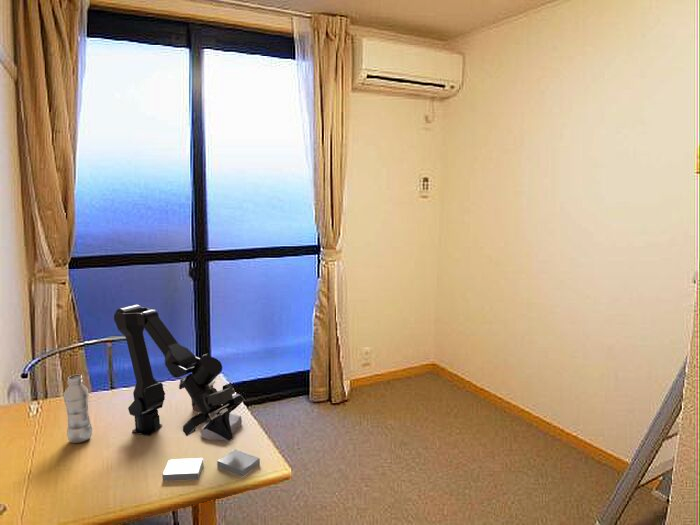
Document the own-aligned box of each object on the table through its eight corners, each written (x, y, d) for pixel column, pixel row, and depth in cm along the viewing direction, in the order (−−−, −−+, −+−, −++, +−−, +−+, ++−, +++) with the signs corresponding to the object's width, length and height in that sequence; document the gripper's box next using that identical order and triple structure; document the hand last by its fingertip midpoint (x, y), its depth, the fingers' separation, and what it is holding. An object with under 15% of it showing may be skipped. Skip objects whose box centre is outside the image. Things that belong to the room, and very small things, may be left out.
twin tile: (162, 482, 131) (162, 474, 130) (169, 467, 138) (169, 459, 137) (198, 481, 132) (197, 472, 131) (203, 466, 138) (202, 458, 138)
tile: (217, 460, 137) (242, 470, 132) (235, 449, 143) (259, 458, 138) (217, 468, 137) (242, 478, 133) (235, 456, 143) (259, 466, 139)
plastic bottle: (96, 439, 150) (91, 376, 147) (72, 448, 146) (66, 383, 142) (88, 432, 155) (83, 370, 151) (64, 440, 150) (58, 377, 146)
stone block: (198, 444, 152) (228, 442, 150) (195, 429, 152) (225, 426, 150) (216, 426, 164) (245, 424, 162) (213, 412, 163) (242, 410, 161)
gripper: (188, 390, 130) (221, 441, 126) (238, 367, 146) (269, 411, 142) (169, 411, 135) (200, 460, 131) (219, 386, 151) (248, 430, 147)
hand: (231, 439), depth 138 cm, fingers closed
